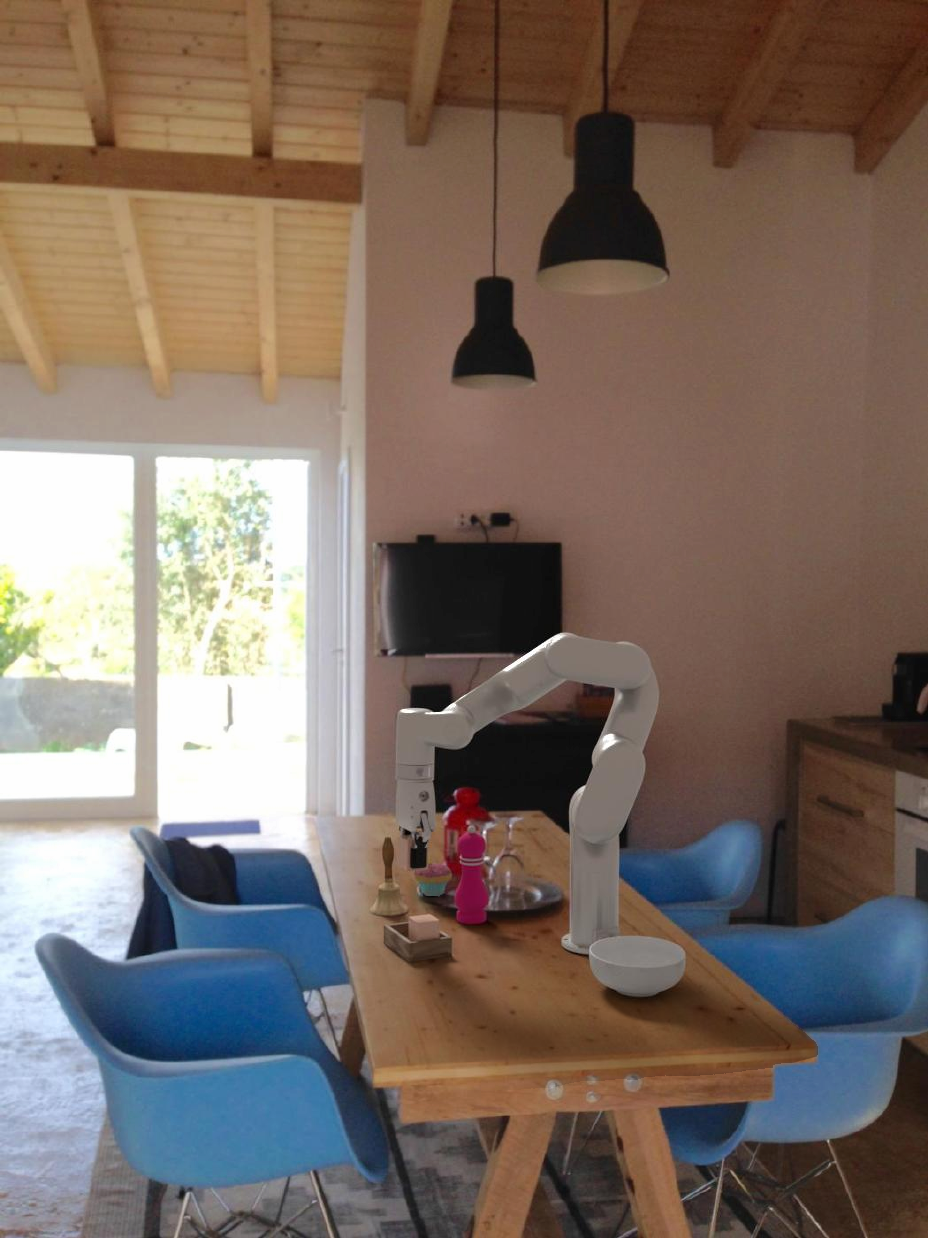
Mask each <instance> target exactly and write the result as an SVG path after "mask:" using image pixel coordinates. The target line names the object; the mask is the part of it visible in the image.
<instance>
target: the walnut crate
mask: <svg viewBox="0 0 928 1238" xmlns="http://www.w3.org/2000/svg"><path fill="white" fill-rule="evenodd" d="M383 944H384V945H386V946H387V947H389V948H390V949H391V950H393V951H394V953H396V954H398V955H399V956H401V957H402V958H403V959H404V960H406V961H407V962H409V963H412V962H413V963H414V962H419V961H425V960H431V959H438V958H445V957H452V956H453V937H452V936H450V935H449V934H447V933H446V932H444V931H443V930H441V929H440V928H439V938H435V939H428V940H421V941H414V942H411V941H410V940H409V921H405V922H398V923H389V924H383Z"/></svg>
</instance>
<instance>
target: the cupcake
mask: <svg viewBox="0 0 928 1238" xmlns="http://www.w3.org/2000/svg"><path fill="white" fill-rule="evenodd" d="M430 858H431V857H430V853H429V851H428V869H425V870H416V871H413V875H414V879H415V880H416V882H417V883H418V884H419V887H420V890H421V891H420V892H421V893H422V892H423V893H426V894H432V895H442V894H443V895H444V893H445V889H446V887H447V883H448V882H450V881H451V880H452V877H453V874H452V870H451V869H450V867H448V866H447V865H446V864H443V863H440V862H431V860H430ZM443 895H442V896H443Z"/></svg>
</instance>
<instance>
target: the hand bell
mask: <svg viewBox="0 0 928 1238" xmlns="http://www.w3.org/2000/svg"><path fill="white" fill-rule="evenodd" d="M381 855H382V861H383V865H384V882H383V883H382V884H380V885H379V886H378V890H377V897H376V899H375V902H374V904H373V905H372V906H371V907H370V908H369V909H370V910H369V912H370V914H372V915H375V916H380V917H381V916H382V917H395V916H401V915H404V914H406V913H408V912H409V907H408V906H407V905H406V904H405V903H404V901H403V898H402V897H401V891H400V886H399V885H398V884H397V883H395V882H394V879H393V869H392V868H393V864H394V857H395V847H394V844H393V841H392V838H391V836H385V837H384V841H383V844H382V848H381Z"/></svg>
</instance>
